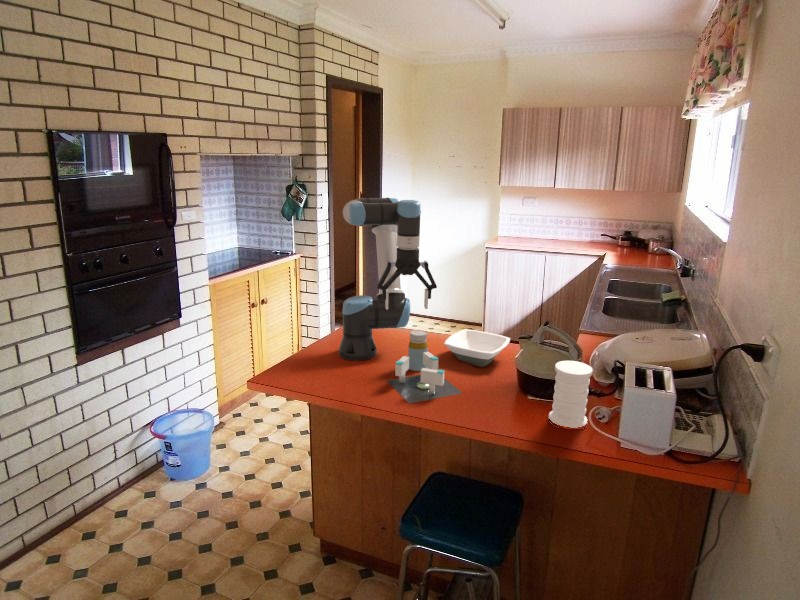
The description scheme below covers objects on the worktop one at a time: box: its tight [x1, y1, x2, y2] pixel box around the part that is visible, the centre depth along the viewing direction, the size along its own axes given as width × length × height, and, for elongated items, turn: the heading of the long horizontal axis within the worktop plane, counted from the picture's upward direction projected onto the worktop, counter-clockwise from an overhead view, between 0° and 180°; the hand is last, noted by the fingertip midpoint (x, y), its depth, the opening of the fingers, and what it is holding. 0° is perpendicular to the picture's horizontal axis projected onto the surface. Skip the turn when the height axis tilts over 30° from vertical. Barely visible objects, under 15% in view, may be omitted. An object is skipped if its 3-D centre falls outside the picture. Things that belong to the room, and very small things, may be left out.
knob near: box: [394, 355, 410, 383], centre depth 193 cm, size 8×2×8 cm, turn 159°
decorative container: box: [548, 360, 594, 428], centre depth 170 cm, size 12×12×18 cm
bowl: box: [443, 328, 511, 368], centre depth 217 cm, size 22×23×8 cm
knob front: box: [420, 368, 445, 394], centre depth 185 cm, size 8×2×8 cm, turn 71°
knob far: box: [423, 351, 440, 370], centre depth 198 cm, size 8×2×8 cm, turn 25°
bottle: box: [407, 329, 429, 372], centre depth 206 cm, size 7×7×15 cm
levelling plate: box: [386, 374, 463, 404], centre depth 192 cm, size 19×20×2 cm
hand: (406, 308), depth 191 cm, fingers open, 13 cm apart
